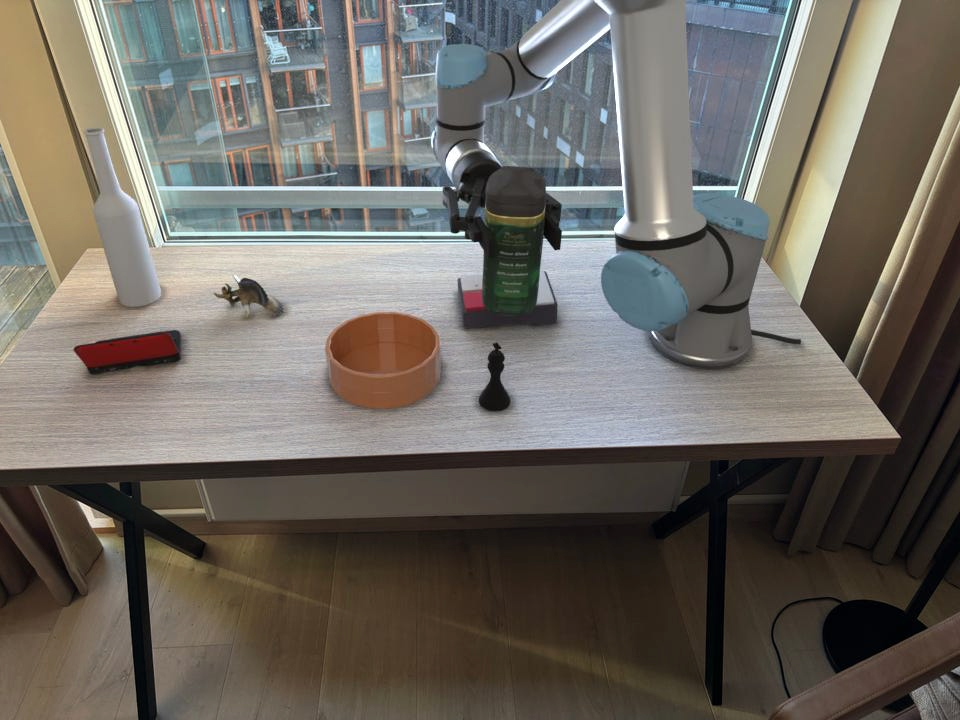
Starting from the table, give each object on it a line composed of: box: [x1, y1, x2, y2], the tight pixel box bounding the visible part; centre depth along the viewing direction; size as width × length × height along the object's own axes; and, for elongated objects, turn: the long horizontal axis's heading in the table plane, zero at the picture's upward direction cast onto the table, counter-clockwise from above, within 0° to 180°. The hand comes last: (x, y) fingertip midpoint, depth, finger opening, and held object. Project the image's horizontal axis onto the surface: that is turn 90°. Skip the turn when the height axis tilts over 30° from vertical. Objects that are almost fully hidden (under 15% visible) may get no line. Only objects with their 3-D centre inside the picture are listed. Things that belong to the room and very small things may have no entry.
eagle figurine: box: [213, 274, 285, 319], centre depth 123 cm, size 8×7×9 cm
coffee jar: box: [482, 165, 547, 316], centre depth 103 cm, size 10×8×19 cm
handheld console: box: [73, 329, 182, 375], centre depth 111 cm, size 12×11×7 cm
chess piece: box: [478, 342, 511, 412], centre depth 104 cm, size 4×4×10 cm
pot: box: [324, 311, 442, 410], centre depth 110 cm, size 16×16×6 cm
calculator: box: [457, 270, 558, 329], centre depth 125 cm, size 11×4×15 cm
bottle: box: [83, 126, 162, 308], centre depth 119 cm, size 7×7×28 cm
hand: (525, 244), depth 98 cm, fingers closed on coffee jar, 8 cm apart
